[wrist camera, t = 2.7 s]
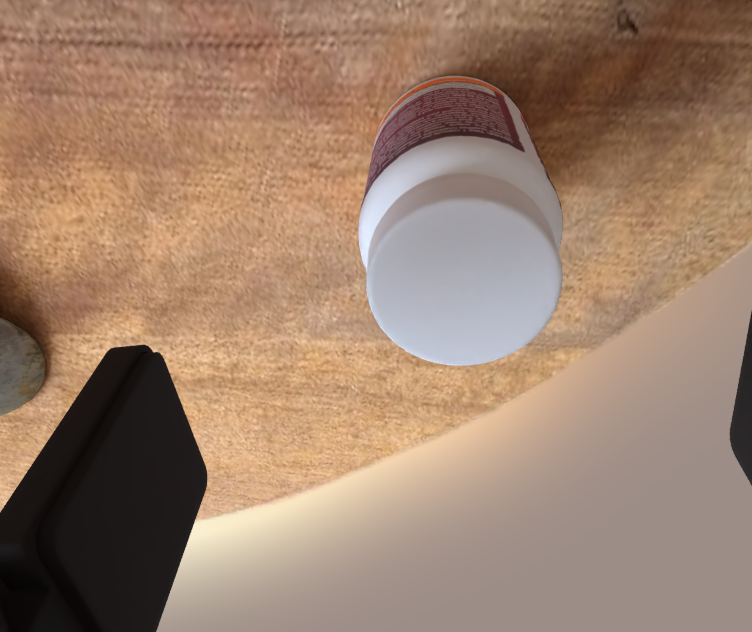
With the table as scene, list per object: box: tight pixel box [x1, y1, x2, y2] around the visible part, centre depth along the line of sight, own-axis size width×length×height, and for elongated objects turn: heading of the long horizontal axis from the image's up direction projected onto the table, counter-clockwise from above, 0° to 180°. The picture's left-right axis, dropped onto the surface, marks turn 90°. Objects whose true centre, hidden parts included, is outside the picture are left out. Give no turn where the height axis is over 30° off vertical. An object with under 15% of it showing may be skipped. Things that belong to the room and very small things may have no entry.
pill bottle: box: [358, 76, 563, 366], centre depth 17 cm, size 5×5×8 cm
